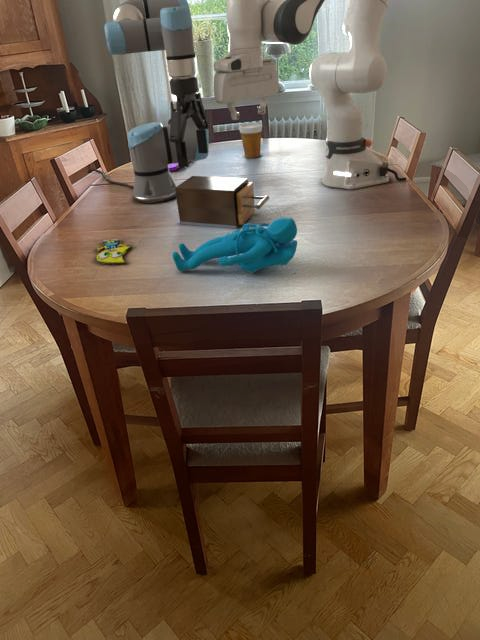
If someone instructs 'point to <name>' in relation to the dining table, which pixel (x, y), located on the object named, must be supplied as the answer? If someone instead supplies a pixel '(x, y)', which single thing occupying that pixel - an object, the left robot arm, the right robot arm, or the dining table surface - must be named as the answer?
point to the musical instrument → (173, 166)
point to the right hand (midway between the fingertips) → (248, 116)
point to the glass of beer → (251, 139)
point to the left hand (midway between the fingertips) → (193, 159)
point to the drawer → (247, 202)
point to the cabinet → (209, 201)
